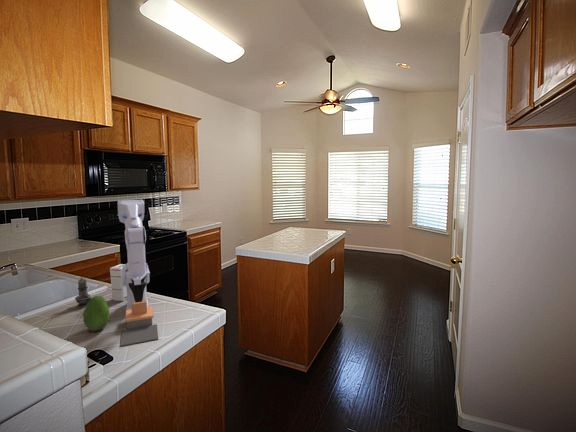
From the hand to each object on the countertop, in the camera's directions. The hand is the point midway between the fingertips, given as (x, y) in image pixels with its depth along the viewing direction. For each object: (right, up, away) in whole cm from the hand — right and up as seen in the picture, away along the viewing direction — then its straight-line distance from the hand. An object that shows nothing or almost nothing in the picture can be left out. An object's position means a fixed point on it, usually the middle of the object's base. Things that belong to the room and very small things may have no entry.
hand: (138, 297), depth 116 cm
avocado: (-13, -10, -4) cm, 17 cm away
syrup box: (-18, -6, +24) cm, 30 cm away
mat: (+4, -11, -8) cm, 14 cm away
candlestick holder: (-30, -7, +16) cm, 35 cm away
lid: (0, -6, +1) cm, 6 cm away
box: (0, -9, +1) cm, 9 cm away
